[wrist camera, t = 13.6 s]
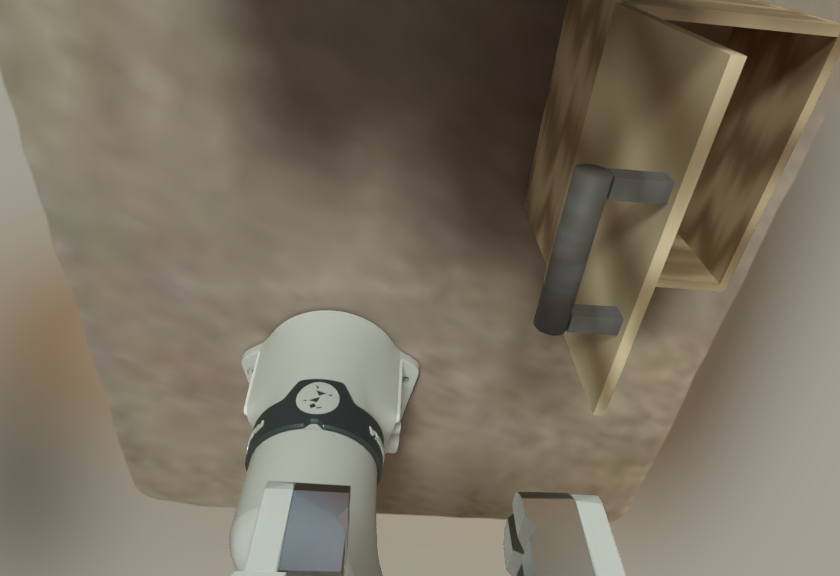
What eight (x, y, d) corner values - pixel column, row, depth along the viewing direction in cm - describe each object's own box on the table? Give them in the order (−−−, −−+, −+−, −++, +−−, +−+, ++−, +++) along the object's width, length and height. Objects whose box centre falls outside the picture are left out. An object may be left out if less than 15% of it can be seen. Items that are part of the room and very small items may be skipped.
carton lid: (604, 415, 30) (517, 411, 29) (551, 280, 40) (487, 276, 40) (747, 56, 19) (617, 43, 19) (626, 3, 30) (541, -6, 30)
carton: (663, 216, 51) (724, 291, 41) (523, 206, 50) (551, 279, 40) (745, -3, 41) (853, 26, 31) (572, -21, 40) (626, 3, 30)
